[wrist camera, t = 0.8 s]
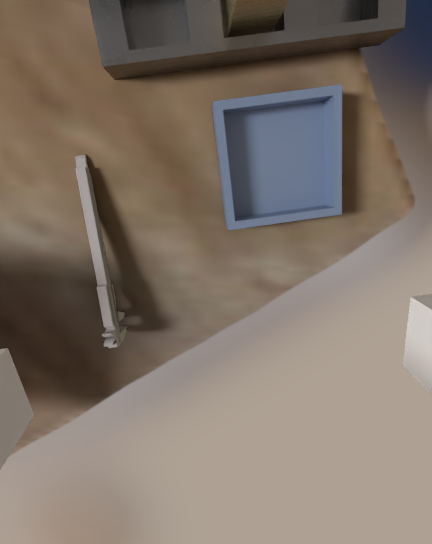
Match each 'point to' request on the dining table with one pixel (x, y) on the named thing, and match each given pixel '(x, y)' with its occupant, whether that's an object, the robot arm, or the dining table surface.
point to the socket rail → (225, 51)
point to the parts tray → (280, 156)
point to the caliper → (99, 258)
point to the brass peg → (251, 16)
